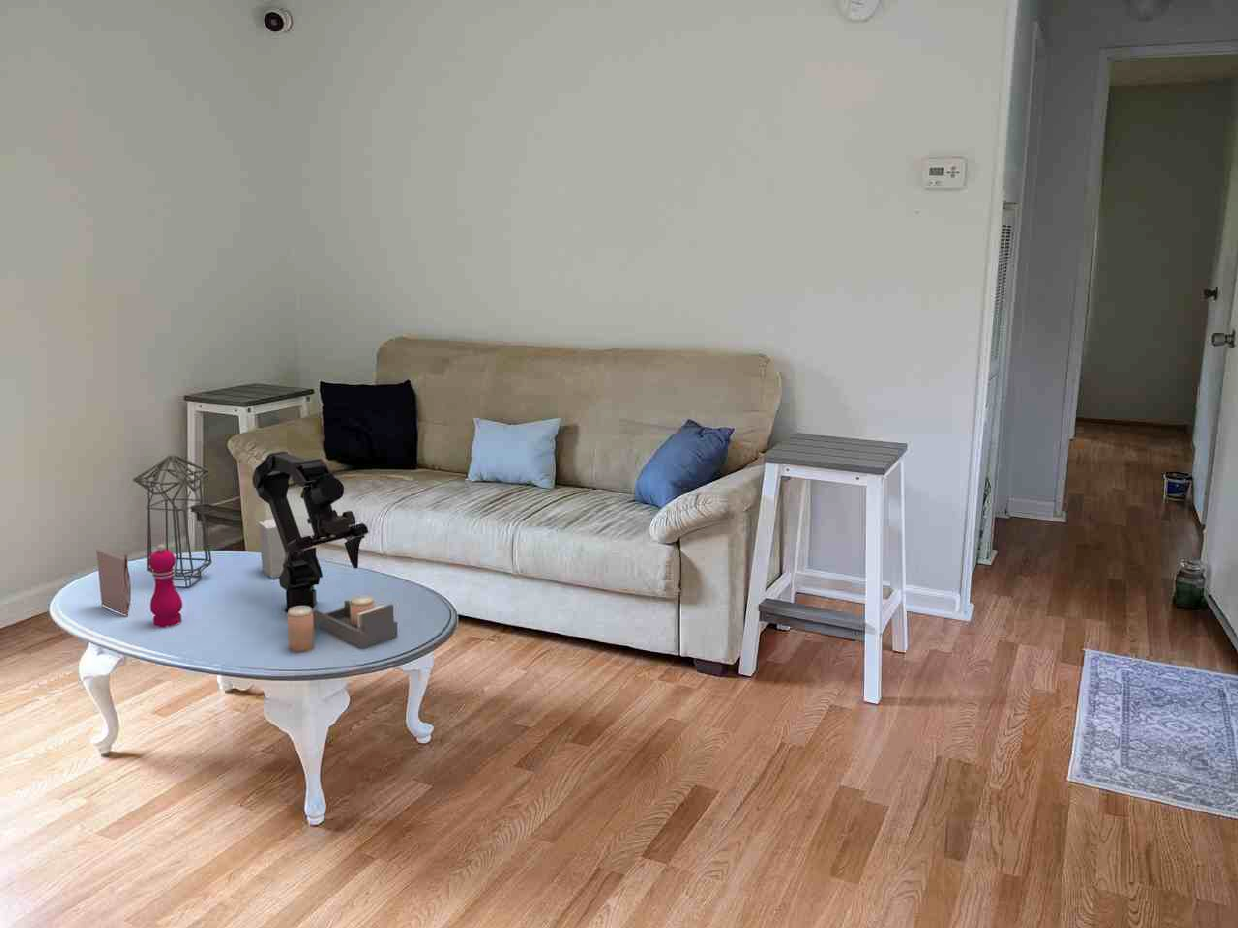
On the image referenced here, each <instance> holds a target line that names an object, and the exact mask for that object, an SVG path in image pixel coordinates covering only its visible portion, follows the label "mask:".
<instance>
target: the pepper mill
mask: <svg viewBox="0 0 1238 928" xmlns="http://www.w3.org/2000/svg"><path fill="white" fill-rule="evenodd" d="M156 549H157V551H155V552H153V553H152V555H151V556H149V568H150V567H151V568H152V573H151V574H152V575H151V576H152V578H153V579H154V590H153V593H152V596H151V599H150V602H149V610H150V612H151V613H152V614H153V615H154V616H153V618H152V621H153V625H154V626H155V625H156V626H155V627H157V626H159V627H158V628H167V627H166V626H171V627H173V626H172V625H175V624H177V623H179V622H180V623H182V614H181V613H180V611H181V610H182V608H183V602H182V599H181V596H180V594H179V593H178V591H177V589H176V587H175V586H176V585H175V584H174V580H173V578H174V577H173V576H175V573H174V572H175V571H174V569H175V568H174V567H175V566H176V555H175V554H174V553H173V552H172V551H169V550H168V551H167V550H166V545H165V544H159V545H158V546H157V548H156ZM180 623H179V624H180ZM177 625H178V624H177ZM175 626H176V625H175Z"/></svg>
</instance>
